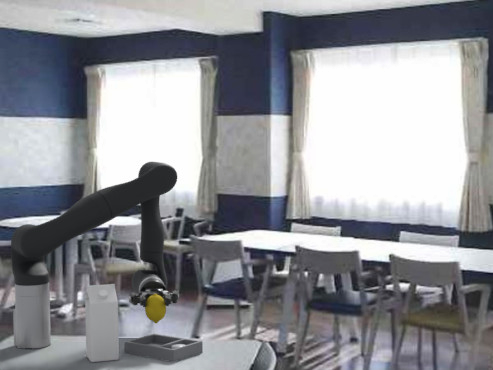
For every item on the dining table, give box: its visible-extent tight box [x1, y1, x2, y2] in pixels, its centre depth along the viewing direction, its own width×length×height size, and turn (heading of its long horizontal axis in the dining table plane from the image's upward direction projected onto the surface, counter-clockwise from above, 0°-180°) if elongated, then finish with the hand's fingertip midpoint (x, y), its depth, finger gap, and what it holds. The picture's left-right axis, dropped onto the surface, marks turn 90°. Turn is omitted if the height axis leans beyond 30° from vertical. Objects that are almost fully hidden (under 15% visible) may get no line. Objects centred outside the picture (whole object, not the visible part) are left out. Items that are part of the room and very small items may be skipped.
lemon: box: [144, 294, 167, 324], centre depth 220 cm, size 6×6×8 cm
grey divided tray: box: [123, 333, 204, 363], centre depth 219 cm, size 17×12×3 cm
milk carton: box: [84, 283, 120, 363], centre depth 213 cm, size 7×7×19 cm
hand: (156, 302), depth 217 cm, fingers closed on lemon, 5 cm apart
